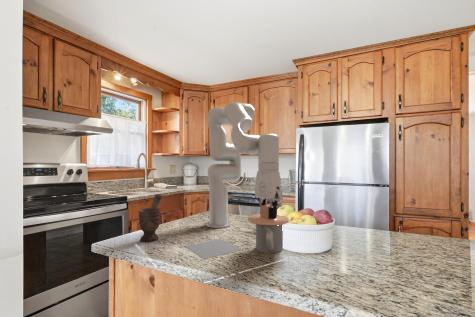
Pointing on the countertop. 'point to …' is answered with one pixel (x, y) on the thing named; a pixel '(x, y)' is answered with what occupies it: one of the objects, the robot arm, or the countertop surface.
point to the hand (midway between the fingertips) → (268, 216)
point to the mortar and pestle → (150, 220)
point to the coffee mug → (269, 238)
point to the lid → (267, 217)
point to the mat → (212, 248)
